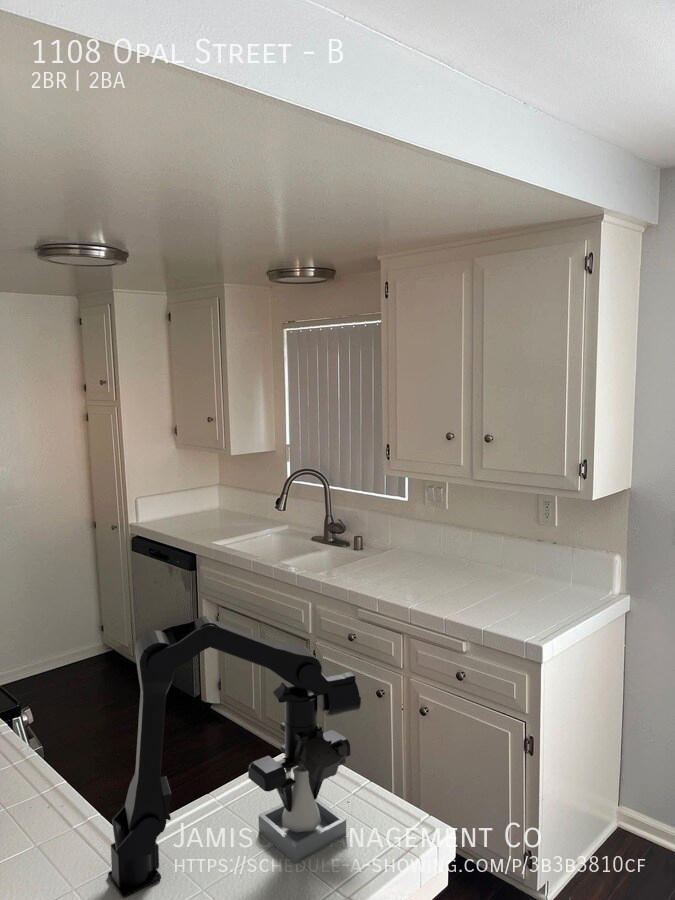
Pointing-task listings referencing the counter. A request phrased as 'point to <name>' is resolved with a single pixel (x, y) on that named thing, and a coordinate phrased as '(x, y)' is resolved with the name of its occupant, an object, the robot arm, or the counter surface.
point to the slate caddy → (302, 842)
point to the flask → (301, 805)
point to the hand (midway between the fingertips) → (301, 804)
